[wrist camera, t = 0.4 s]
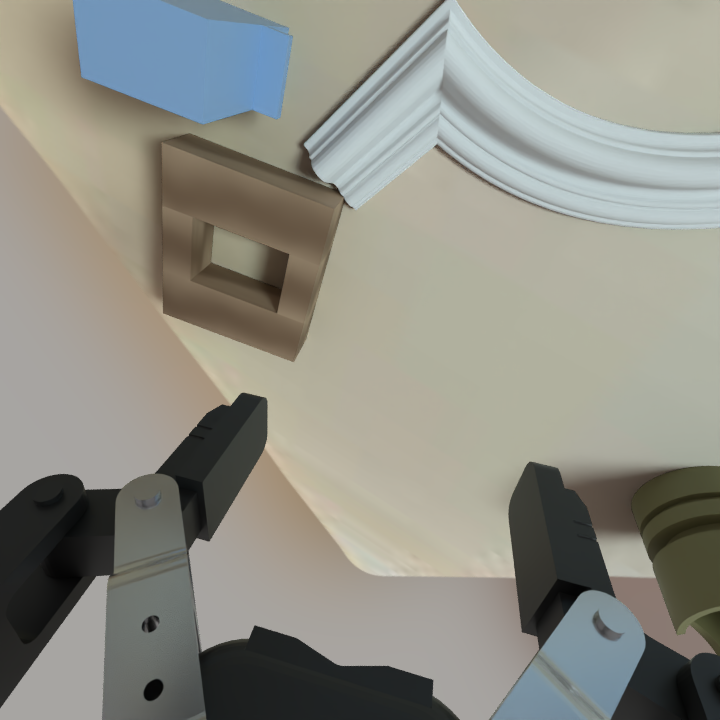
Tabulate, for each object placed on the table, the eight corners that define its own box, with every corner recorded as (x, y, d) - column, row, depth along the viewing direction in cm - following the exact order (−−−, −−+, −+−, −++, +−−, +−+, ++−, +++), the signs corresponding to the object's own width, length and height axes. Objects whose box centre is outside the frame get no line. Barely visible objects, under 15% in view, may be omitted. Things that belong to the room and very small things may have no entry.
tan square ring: (189, 133, 30) (161, 142, 27) (346, 194, 30) (334, 209, 27) (184, 294, 38) (163, 313, 36) (305, 339, 39) (293, 362, 36)
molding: (310, 197, 31) (297, 209, 29) (311, -18, 24) (294, -24, 21) (937, 293, 27) (980, 316, 25) (1186, 65, 19) (1282, 68, 17)
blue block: (170, -20, 25) (33, -51, 17) (312, 37, 25) (242, 33, 17) (170, 59, 27) (50, 65, 19) (299, 110, 27) (232, 135, 20)
